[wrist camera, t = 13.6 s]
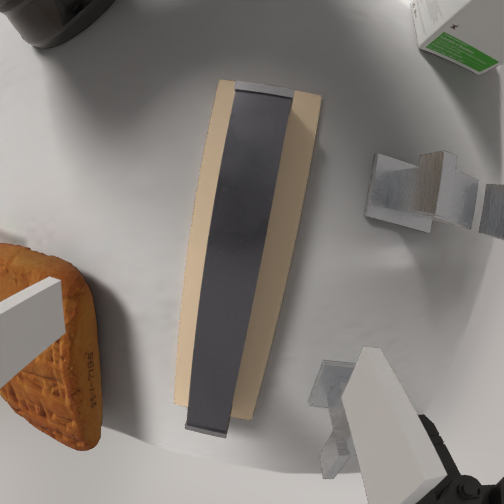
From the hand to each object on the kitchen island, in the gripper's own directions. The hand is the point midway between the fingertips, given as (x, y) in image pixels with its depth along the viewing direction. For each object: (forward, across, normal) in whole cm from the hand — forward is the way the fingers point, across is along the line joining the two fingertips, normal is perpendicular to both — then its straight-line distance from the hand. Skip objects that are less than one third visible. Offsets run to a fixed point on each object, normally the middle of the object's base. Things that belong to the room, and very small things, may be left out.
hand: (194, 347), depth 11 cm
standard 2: (+12, +12, +8) cm, 19 cm away
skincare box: (+13, +16, +26) cm, 34 cm away
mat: (+12, 0, -1) cm, 12 cm away
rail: (+12, 0, -1) cm, 12 cm away
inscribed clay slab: (+13, -19, -13) cm, 26 cm away
